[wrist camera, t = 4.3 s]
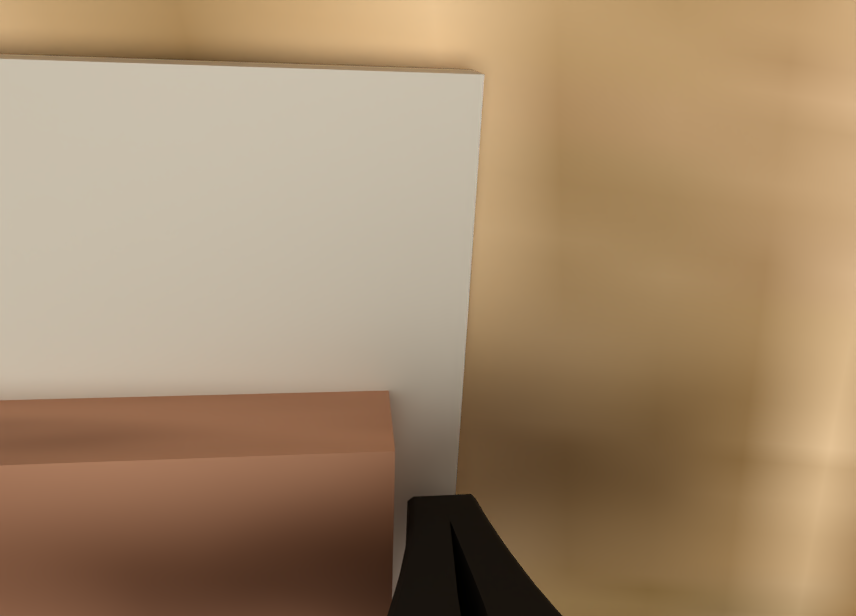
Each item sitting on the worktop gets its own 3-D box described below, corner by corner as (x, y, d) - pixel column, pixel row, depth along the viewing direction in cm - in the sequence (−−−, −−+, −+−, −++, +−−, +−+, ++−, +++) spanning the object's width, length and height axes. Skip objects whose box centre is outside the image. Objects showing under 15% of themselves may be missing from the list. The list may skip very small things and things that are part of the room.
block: (385, 608, 15) (390, 687, 13) (25, 631, 14) (-21, 720, 13) (388, 390, 13) (394, 451, 11) (-44, 401, 12) (-114, 469, 10)
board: (431, 719, 19) (437, 762, 18) (-45, 760, 17) (-71, 809, 16) (471, 69, 12) (484, 74, 11) (-337, 42, 10) (-419, 45, 9)
